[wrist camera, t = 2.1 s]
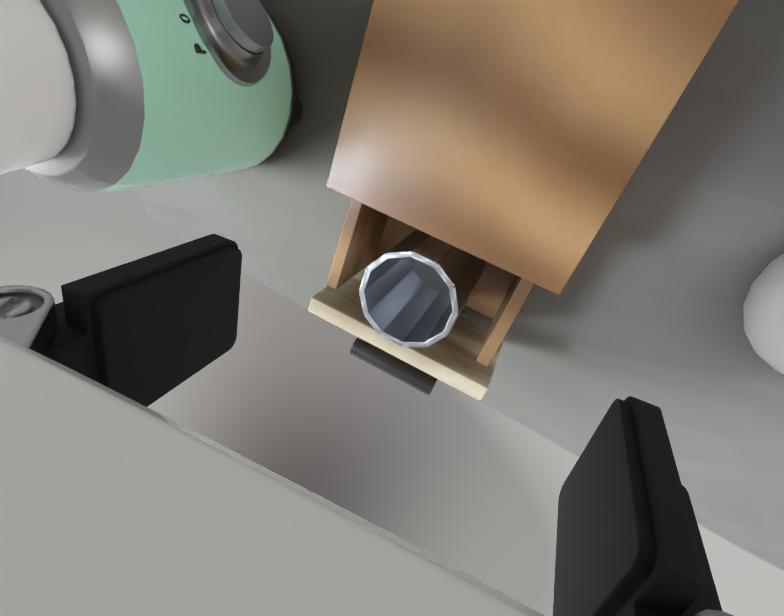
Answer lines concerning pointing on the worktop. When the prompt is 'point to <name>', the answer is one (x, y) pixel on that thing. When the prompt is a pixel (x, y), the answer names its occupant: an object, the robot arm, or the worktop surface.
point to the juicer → (141, 90)
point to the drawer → (417, 364)
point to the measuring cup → (418, 289)
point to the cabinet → (514, 117)
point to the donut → (767, 314)
